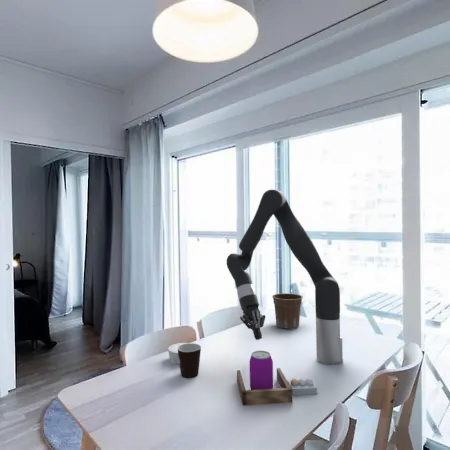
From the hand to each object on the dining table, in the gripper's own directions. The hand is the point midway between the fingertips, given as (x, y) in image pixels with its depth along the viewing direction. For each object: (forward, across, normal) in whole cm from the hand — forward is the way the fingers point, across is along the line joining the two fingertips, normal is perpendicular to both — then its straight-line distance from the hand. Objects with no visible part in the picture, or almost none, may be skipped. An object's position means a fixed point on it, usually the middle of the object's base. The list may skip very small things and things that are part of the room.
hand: (259, 339), depth 126 cm
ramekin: (-1, -17, +29) cm, 34 cm away
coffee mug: (+6, -21, +19) cm, 29 cm away
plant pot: (-12, +49, +22) cm, 55 cm away
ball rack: (+21, -1, -13) cm, 25 cm away
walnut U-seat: (+18, -11, -5) cm, 22 cm away
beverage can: (+18, -11, -5) cm, 22 cm away
